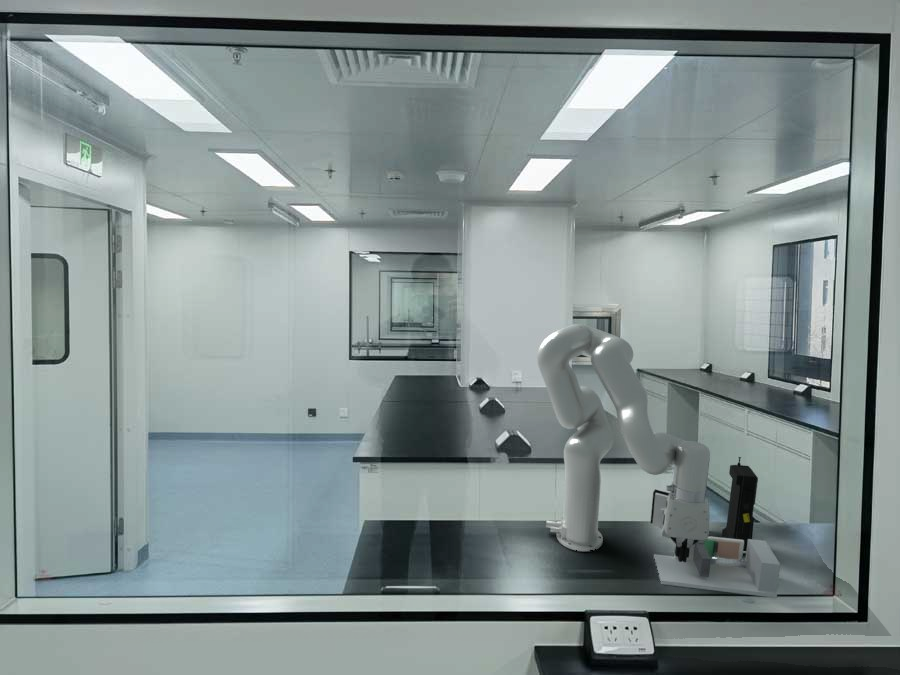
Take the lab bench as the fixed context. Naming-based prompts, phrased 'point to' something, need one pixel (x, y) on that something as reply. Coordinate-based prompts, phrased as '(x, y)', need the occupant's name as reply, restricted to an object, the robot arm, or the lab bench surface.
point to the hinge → (658, 507)
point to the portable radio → (741, 504)
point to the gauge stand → (725, 569)
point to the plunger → (712, 559)
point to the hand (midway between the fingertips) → (681, 558)
